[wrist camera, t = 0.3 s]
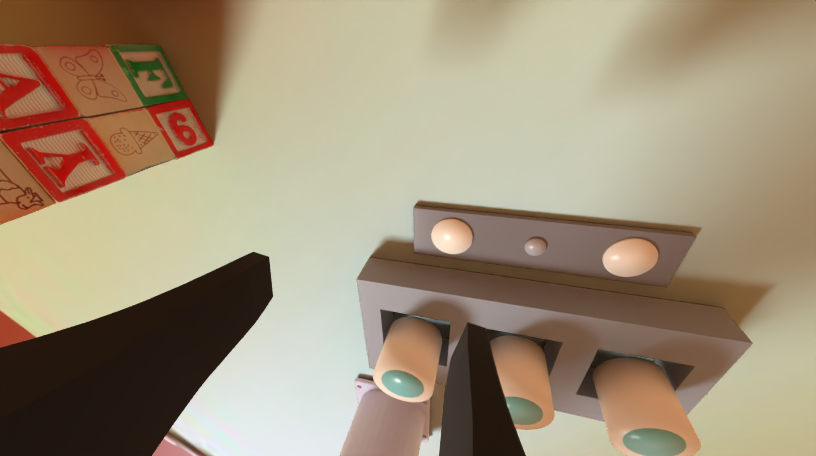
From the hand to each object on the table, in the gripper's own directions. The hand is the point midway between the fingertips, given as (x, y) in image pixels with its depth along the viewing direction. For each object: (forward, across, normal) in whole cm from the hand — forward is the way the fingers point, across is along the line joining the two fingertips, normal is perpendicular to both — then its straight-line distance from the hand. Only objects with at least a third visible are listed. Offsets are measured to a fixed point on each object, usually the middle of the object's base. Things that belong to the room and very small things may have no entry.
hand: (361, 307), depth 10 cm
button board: (+10, -9, +9) cm, 16 cm away
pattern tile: (+10, -8, +1) cm, 12 cm away
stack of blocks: (+10, +26, +2) cm, 28 cm away
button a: (+8, -2, +10) cm, 13 cm away
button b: (+7, -9, +9) cm, 15 cm away
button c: (+8, -16, +8) cm, 19 cm away
